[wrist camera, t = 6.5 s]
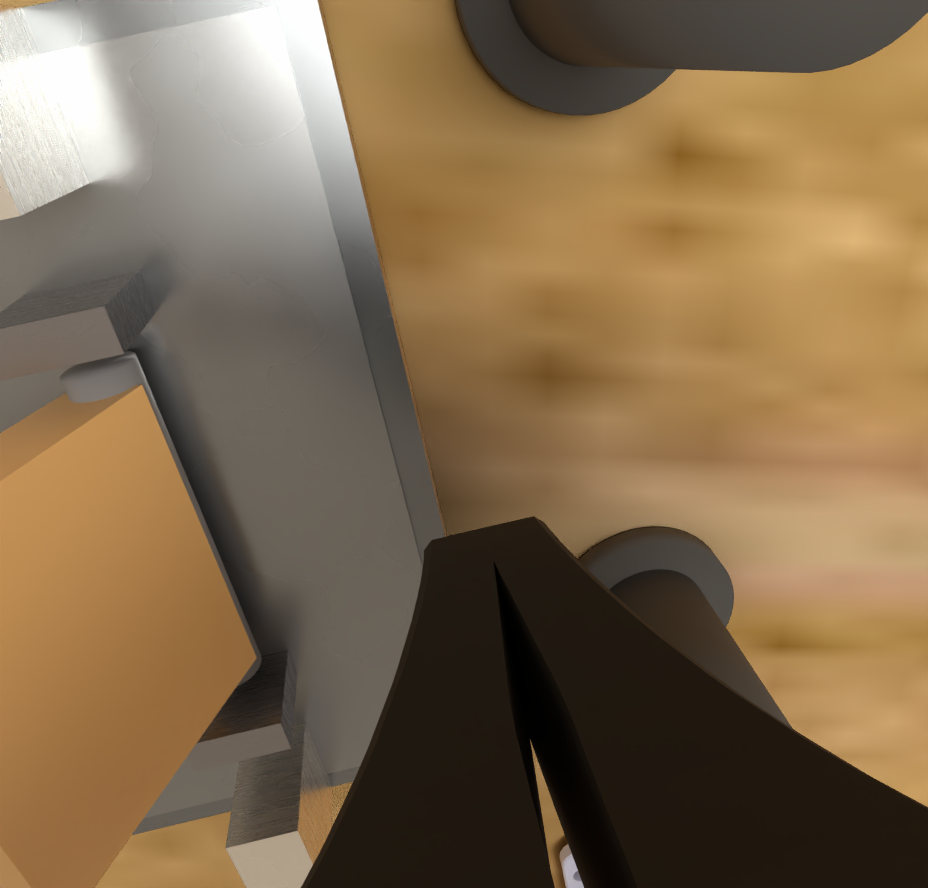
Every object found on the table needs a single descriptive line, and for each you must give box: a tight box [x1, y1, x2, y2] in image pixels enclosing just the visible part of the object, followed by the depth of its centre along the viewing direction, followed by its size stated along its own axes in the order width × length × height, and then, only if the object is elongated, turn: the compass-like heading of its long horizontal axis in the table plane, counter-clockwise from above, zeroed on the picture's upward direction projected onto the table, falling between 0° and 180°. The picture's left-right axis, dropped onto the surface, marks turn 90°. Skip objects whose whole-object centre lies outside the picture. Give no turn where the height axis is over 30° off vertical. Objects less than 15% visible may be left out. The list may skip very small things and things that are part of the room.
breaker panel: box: [0, 0, 447, 888], centre depth 12 cm, size 14×8×5 cm, turn 11°
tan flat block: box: [0, 351, 262, 888], centre depth 10 cm, size 6×1×5 cm
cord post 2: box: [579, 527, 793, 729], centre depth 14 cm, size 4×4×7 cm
